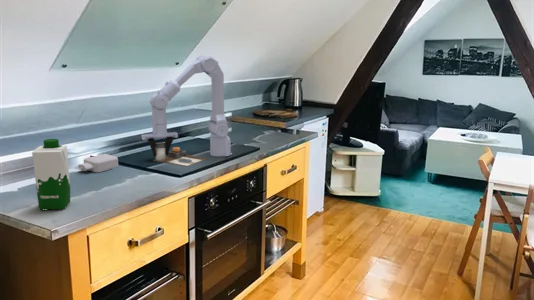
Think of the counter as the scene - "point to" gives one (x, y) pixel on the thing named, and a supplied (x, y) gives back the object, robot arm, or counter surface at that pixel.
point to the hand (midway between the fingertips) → (160, 155)
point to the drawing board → (181, 158)
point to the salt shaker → (160, 151)
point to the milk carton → (52, 175)
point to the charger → (99, 163)
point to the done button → (176, 149)
